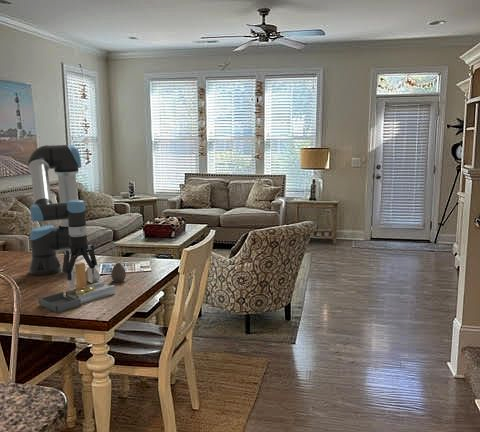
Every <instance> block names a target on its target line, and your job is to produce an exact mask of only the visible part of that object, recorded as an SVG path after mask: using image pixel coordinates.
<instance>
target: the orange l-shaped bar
mask: <svg viewBox="0 0 480 432" xmlns="http://www.w3.org/2000/svg"><path fill="white" fill-rule="evenodd" d="M74 267H75V279H76V282H75V283H76V284H74V289H77V288H80V287H84V286H87V285H88V284H87V281H86V273H85V271H86V263H85V262H78V263H77V262H76V263H75V264H74Z"/></svg>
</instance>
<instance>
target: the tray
mask: <svg viewBox="0 0 480 432" xmlns="http://www.w3.org/2000/svg"><path fill="white" fill-rule="evenodd" d="M38 304H39V305H41V306H40V307H42V306H43V308H44V307H45V308H44V309H46V308H47V309H46V310H48V309H49V310H48V311H51V312H53V313H56V314H58V313H63V312H65V311H69V310H73V309H75V308H79V307H81V306H82V304H81V299H76V300H72V299H70V298H67V297H66V296H65V294H64V292H63V291H60V292H57V293H54V294H50V295H46V296H43V297H40V298H38ZM39 305H38V306H39Z"/></svg>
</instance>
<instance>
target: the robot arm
mask: <svg viewBox="0 0 480 432" xmlns="http://www.w3.org/2000/svg"><path fill="white" fill-rule="evenodd" d="M30 154H31V155H30V156H29V157H28V161H27V169H28V171H29V172H30V176H31V184H32V185H31V186H32V196H33V204H30V205H29V209H30V210H29V211H30V219H31V221H32V222H47V221H49V222H50V221H57V220H58V221H60V222H59V223H58V227H55V226H54V225H53V224H51V225H42V226H39V227H36V228H33V229H32V230H31V231H30V235H29V236H30V238H29V240H30V248H31V261H30V265H29V269H28V270H29V275H32V276H33V275H34V276H47V275H53V274H57V273H58V272H60V271H62V272H63V273H65V274H66V279H67V281H68V282H69V283H68V285H69V287H70V288H75V280H74V279H75V276H74V273H73V270H74V267H75V264H76V261H77V259H78V257H80V256H82V257H83V259H84V260H85V262H86V264H87V271H88V281H87V282H89V283H91V284H93V283H92V282H93V274H94V268H96V266H98V261H97V257H96V254H95V245H94V244H88V235H87V234H88V233H87V232H88V231H87V219H86V203H85V201H84V200H82V199H78V191H77V190H78V189H77V176H76V175H77V174H78V173H79V169H80V168H81V167H82V160H81V156H80V152H79V148H78V147H77V145H72V144H59V145H57V144H56V145H54V144H53V145H48V144H47V145H45V144H44V145H43V146H42V145H41V146H39V147H38V148H36V149H35V150H33V152H32V153H30ZM50 169H51V170H52V169H53V170H54V173H55V174H56V175H57V179H58V192H59V193H58V197H59V202H58V203H57V202H56V203H54V202H53V200H52V193H51V185H50V184H51V183H50V177H49V171H50ZM87 250H88V251H87ZM57 251H63V263H62V265H61V263H60V261H59V259H58V257H57ZM70 254H71V255H70ZM61 266H62V267H61Z"/></svg>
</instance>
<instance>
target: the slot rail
mask: <svg viewBox="0 0 480 432" xmlns="http://www.w3.org/2000/svg"><path fill="white" fill-rule="evenodd" d="M86 285H87V286H84V287H80V288H77V289H75V288H74V289H70V290H66V291H65V297H67V298H70V299H72V300H76V299H81V305H82V304H85V303H88V302H91V301H95V300H99V299H102V298H104V297H108V296H111V295H114V294H116V286H115V285H113V284H112V285H105V282H104V281H98V282H94V283H91V284H86ZM89 286H93V287H94V288H95V290H94V291H91V292H87V293H84V294H80V295H77V296H76V292H75V291H76V290H78V289H85V288H86V287H89Z"/></svg>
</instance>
